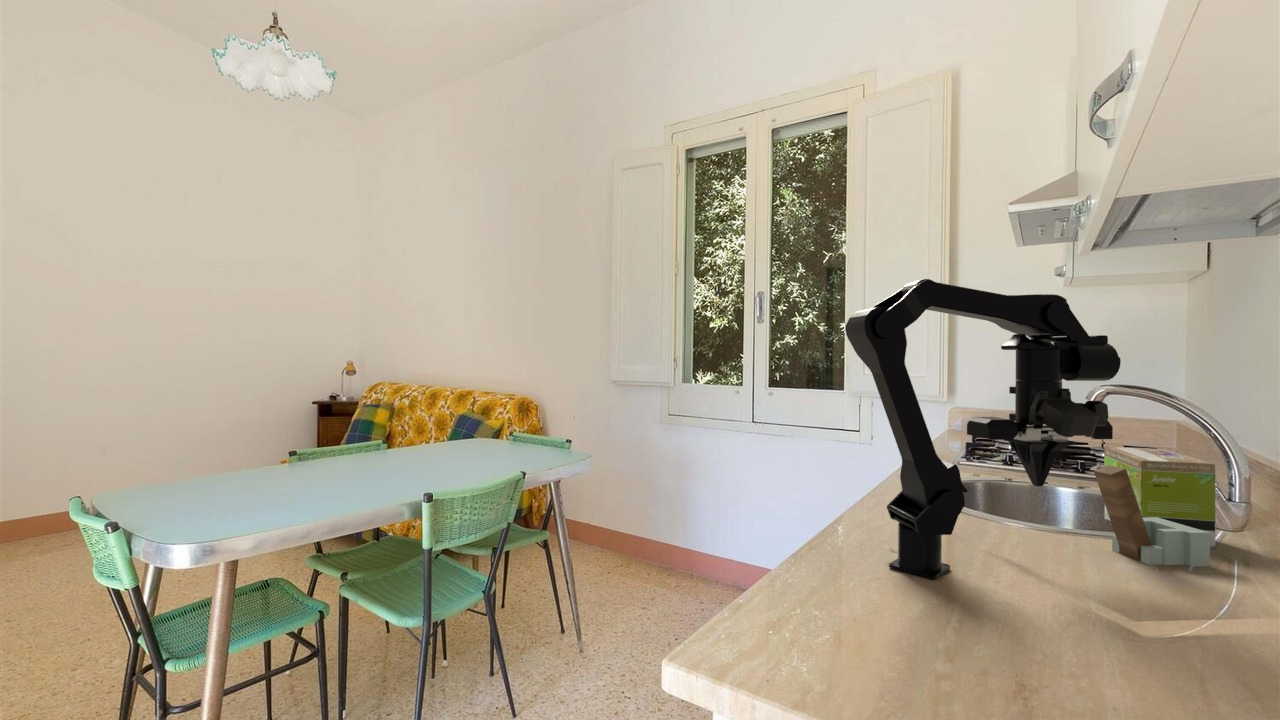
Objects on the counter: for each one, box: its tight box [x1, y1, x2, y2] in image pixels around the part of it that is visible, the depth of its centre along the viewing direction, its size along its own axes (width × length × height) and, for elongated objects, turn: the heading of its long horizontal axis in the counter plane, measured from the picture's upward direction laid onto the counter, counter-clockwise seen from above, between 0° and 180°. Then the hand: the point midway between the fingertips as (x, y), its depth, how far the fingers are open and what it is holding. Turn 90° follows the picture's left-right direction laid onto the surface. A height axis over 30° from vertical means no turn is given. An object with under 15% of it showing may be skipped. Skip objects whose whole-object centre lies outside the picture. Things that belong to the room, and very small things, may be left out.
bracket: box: [1111, 517, 1211, 568], centre depth 87 cm, size 10×8×6 cm
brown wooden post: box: [1093, 465, 1152, 562], centre depth 86 cm, size 2×3×14 cm
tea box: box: [1103, 446, 1216, 547], centre depth 100 cm, size 15×10×15 cm, turn 161°
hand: (1037, 486), depth 86 cm, fingers closed
